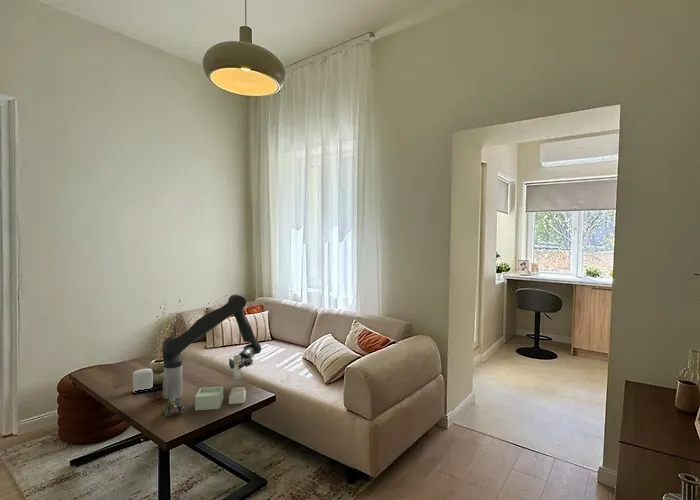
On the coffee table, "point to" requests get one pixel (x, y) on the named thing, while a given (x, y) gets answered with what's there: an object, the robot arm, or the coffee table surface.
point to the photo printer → (142, 379)
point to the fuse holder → (237, 395)
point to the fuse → (237, 367)
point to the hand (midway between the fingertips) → (235, 367)
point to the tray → (209, 398)
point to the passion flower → (173, 403)
